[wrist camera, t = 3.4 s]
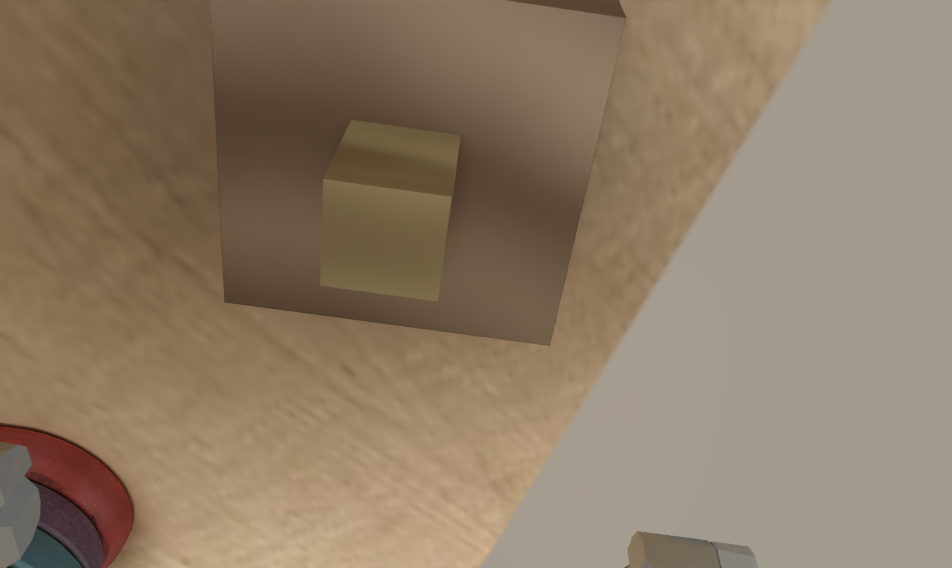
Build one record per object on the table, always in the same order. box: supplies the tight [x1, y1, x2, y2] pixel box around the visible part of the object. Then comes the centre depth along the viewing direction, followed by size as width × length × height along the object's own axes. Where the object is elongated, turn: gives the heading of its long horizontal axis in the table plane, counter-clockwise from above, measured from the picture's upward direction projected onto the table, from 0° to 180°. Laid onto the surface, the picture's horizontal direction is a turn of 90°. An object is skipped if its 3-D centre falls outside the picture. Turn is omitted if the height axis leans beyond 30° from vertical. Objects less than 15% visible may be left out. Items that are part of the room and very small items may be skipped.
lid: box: [210, 0, 626, 346], centre depth 19 cm, size 9×9×4 cm
